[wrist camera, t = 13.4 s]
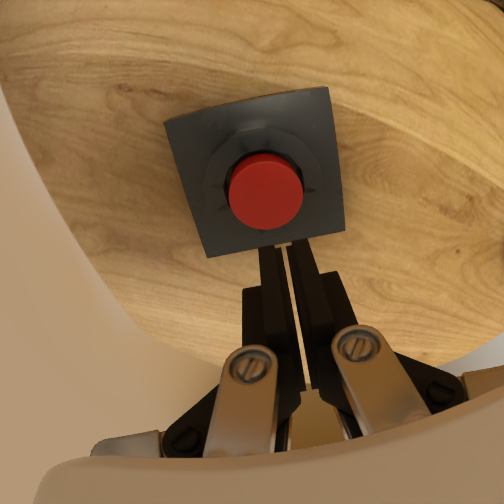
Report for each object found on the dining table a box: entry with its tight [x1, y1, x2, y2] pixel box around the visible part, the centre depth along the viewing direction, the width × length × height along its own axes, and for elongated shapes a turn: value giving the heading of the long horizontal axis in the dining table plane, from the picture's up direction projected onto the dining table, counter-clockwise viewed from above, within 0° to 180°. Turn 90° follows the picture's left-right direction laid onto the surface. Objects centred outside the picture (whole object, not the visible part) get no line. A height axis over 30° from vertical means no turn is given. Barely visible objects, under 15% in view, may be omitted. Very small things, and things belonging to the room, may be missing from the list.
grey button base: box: [164, 86, 345, 258], centre depth 19 cm, size 10×10×3 cm
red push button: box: [229, 153, 303, 230], centre depth 17 cm, size 4×4×2 cm
